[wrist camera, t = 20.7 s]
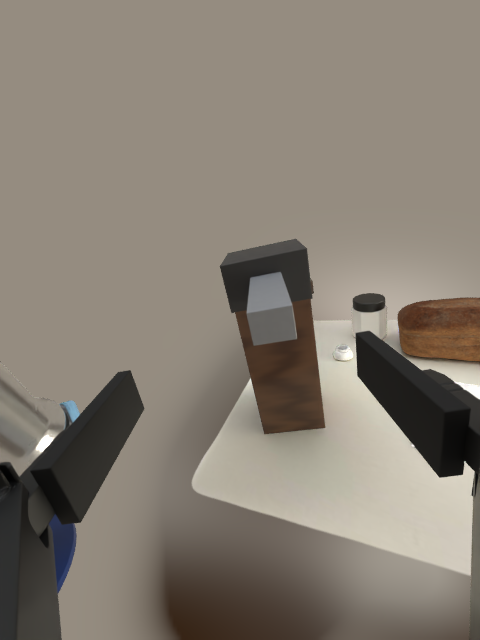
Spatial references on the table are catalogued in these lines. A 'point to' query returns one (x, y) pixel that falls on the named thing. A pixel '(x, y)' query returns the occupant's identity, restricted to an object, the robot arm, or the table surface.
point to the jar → (369, 314)
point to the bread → (441, 329)
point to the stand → (286, 375)
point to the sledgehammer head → (268, 287)
